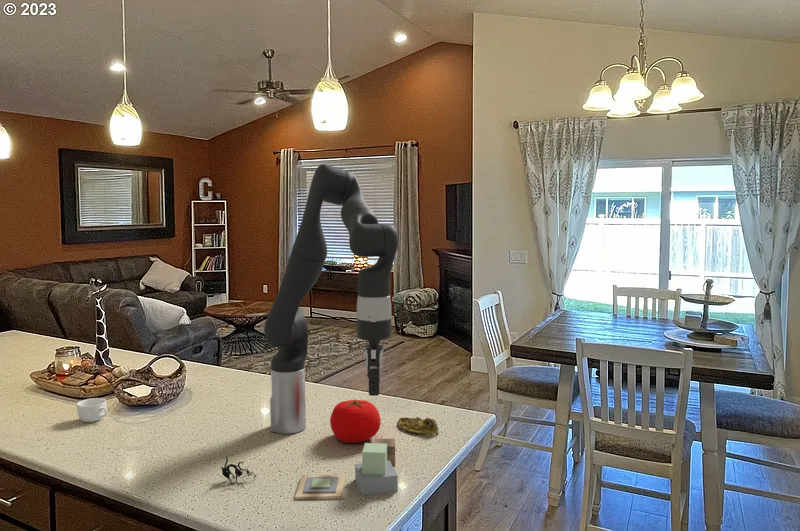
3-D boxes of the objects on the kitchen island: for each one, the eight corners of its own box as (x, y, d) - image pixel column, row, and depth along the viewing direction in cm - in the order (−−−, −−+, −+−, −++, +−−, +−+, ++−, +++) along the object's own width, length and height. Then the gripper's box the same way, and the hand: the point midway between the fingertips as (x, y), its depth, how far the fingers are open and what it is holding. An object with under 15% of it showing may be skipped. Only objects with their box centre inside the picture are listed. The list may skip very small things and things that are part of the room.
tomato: (321, 436, 159) (320, 398, 158) (360, 425, 167) (360, 389, 166) (349, 453, 148) (349, 413, 147) (390, 441, 156) (390, 402, 155)
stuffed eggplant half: (387, 430, 167) (427, 444, 156) (386, 415, 166) (426, 427, 156) (409, 418, 173) (449, 431, 163) (408, 403, 173) (448, 415, 162)
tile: (294, 499, 124) (294, 494, 124) (301, 477, 134) (301, 472, 134) (342, 498, 125) (342, 493, 125) (345, 477, 135) (345, 472, 134)
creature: (257, 476, 138) (223, 471, 137) (261, 455, 137) (227, 449, 136) (251, 492, 130) (215, 486, 129) (256, 469, 130) (220, 463, 129)
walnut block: (374, 467, 140) (374, 446, 140) (374, 458, 145) (374, 438, 145) (395, 466, 140) (395, 446, 140) (395, 458, 145) (394, 438, 145)
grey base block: (361, 497, 126) (361, 479, 126) (355, 480, 134) (355, 463, 133) (397, 493, 128) (397, 475, 127) (389, 477, 136) (389, 460, 135)
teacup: (71, 422, 170) (70, 404, 170) (94, 414, 177) (93, 396, 177) (95, 427, 166) (94, 409, 166) (118, 418, 173) (117, 400, 173)
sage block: (362, 474, 128) (362, 452, 128) (365, 464, 133) (365, 443, 133) (385, 474, 128) (385, 452, 127) (387, 465, 133) (387, 443, 132)
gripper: (358, 310, 134) (359, 379, 136) (354, 322, 120) (355, 399, 122) (391, 310, 134) (391, 379, 136) (391, 322, 120) (391, 399, 122)
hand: (374, 388), depth 129 cm, fingers open, 8 cm apart
